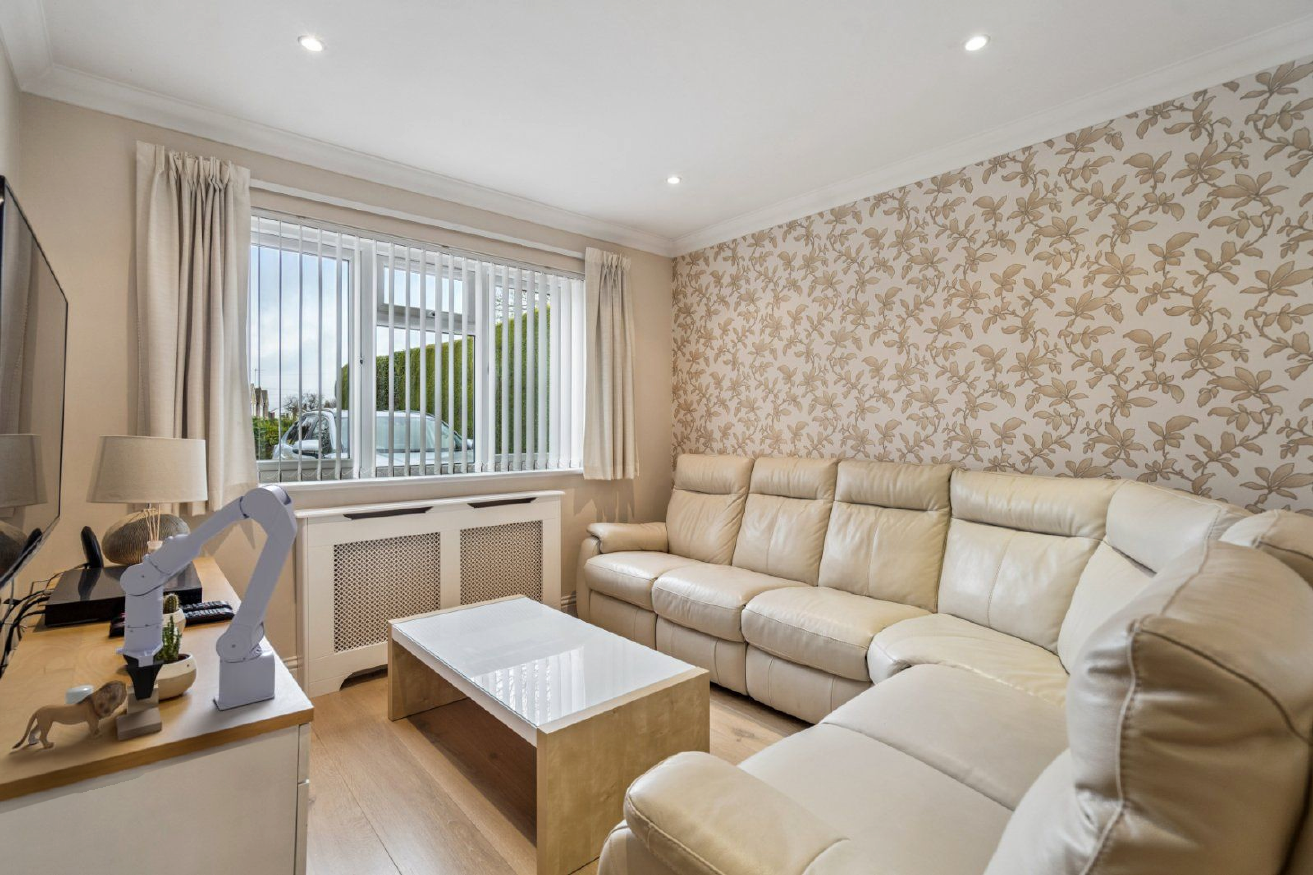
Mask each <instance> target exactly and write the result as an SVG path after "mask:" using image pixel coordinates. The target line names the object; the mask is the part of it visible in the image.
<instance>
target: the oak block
mask: <svg viewBox="0 0 1313 875" xmlns="http://www.w3.org/2000/svg"><path fill="white" fill-rule="evenodd" d="M159 690H160V689H159V684H158V683H157V684H156V685H154V688H153V692H152V695H151V698H147V699H143V700H138V701H137V700H136V697H135V693H134V687H133V684H132V685H129V686H127V685H126V691H127V696H126V714H130V713H134V712H139V711H143V710H148V709H152V708H156V707H158V708H159V692H160V691H159Z"/></svg>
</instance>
